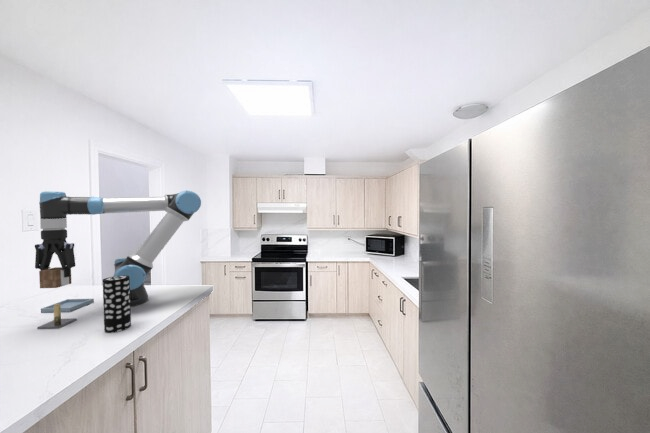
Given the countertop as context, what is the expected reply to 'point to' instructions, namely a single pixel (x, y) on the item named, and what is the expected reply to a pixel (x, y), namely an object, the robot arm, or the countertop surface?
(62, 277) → the robot arm
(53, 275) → the walnut block
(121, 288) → the white-spotted black cylinder
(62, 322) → the brass post base plate
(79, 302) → the tray
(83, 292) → the countertop surface
